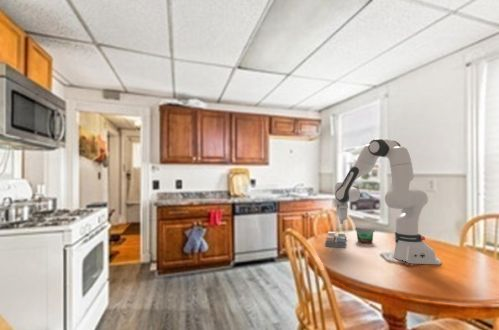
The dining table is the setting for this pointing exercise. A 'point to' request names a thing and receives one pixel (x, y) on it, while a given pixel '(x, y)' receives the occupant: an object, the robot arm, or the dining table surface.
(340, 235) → the sage key
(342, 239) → the slate key
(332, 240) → the terracotta key
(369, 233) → the food container
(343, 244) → the keypad base
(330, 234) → the cream key
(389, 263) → the dining table surface
